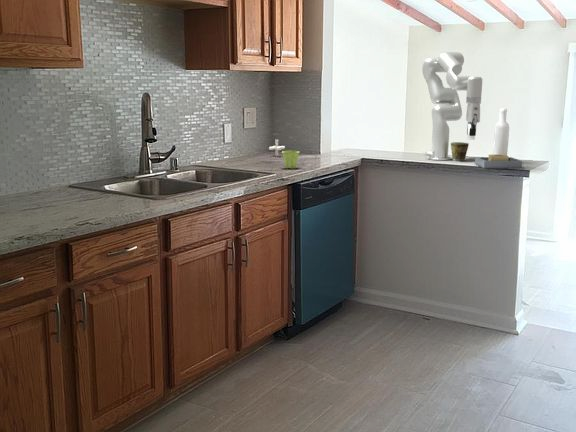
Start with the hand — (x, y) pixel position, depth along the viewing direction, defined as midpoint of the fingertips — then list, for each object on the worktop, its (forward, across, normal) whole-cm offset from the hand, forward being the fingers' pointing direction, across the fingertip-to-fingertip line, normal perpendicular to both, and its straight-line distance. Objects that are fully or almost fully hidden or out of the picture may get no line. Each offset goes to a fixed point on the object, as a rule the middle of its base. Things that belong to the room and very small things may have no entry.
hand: (471, 135), depth 333 cm
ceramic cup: (+17, +23, 0) cm, 29 cm away
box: (+17, -1, -15) cm, 23 cm away
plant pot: (+17, -5, +97) cm, 99 cm away
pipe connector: (+18, +45, +105) cm, 115 cm away
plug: (+2, 0, 0) cm, 2 cm away
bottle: (+17, +17, -22) cm, 33 cm away
